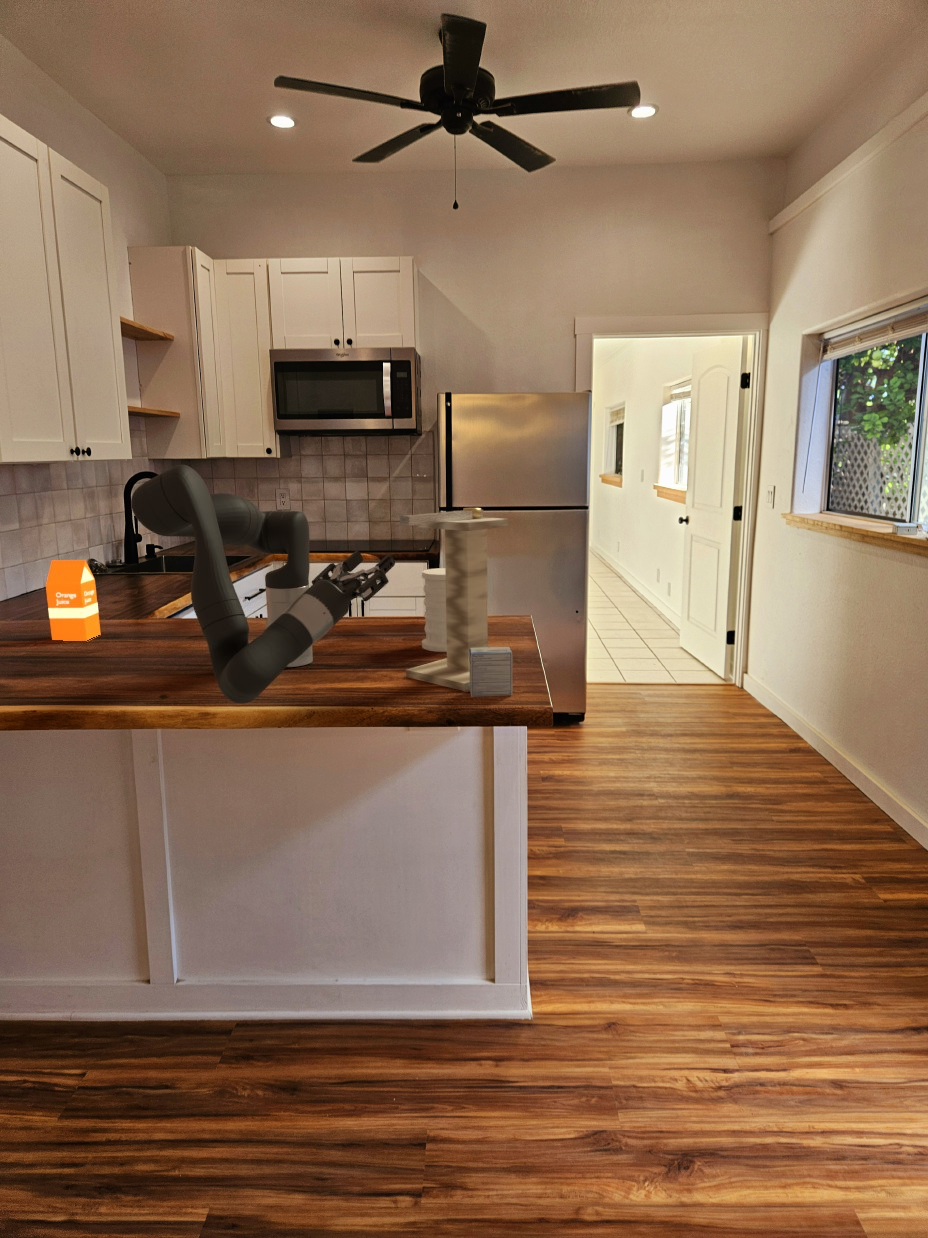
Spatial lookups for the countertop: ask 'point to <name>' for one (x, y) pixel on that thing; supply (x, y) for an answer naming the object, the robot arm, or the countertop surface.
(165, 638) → the countertop surface
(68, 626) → the orange juice
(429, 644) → the decorative container
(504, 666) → the medicine box
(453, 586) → the tool stand
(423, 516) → the slotted wooden block
